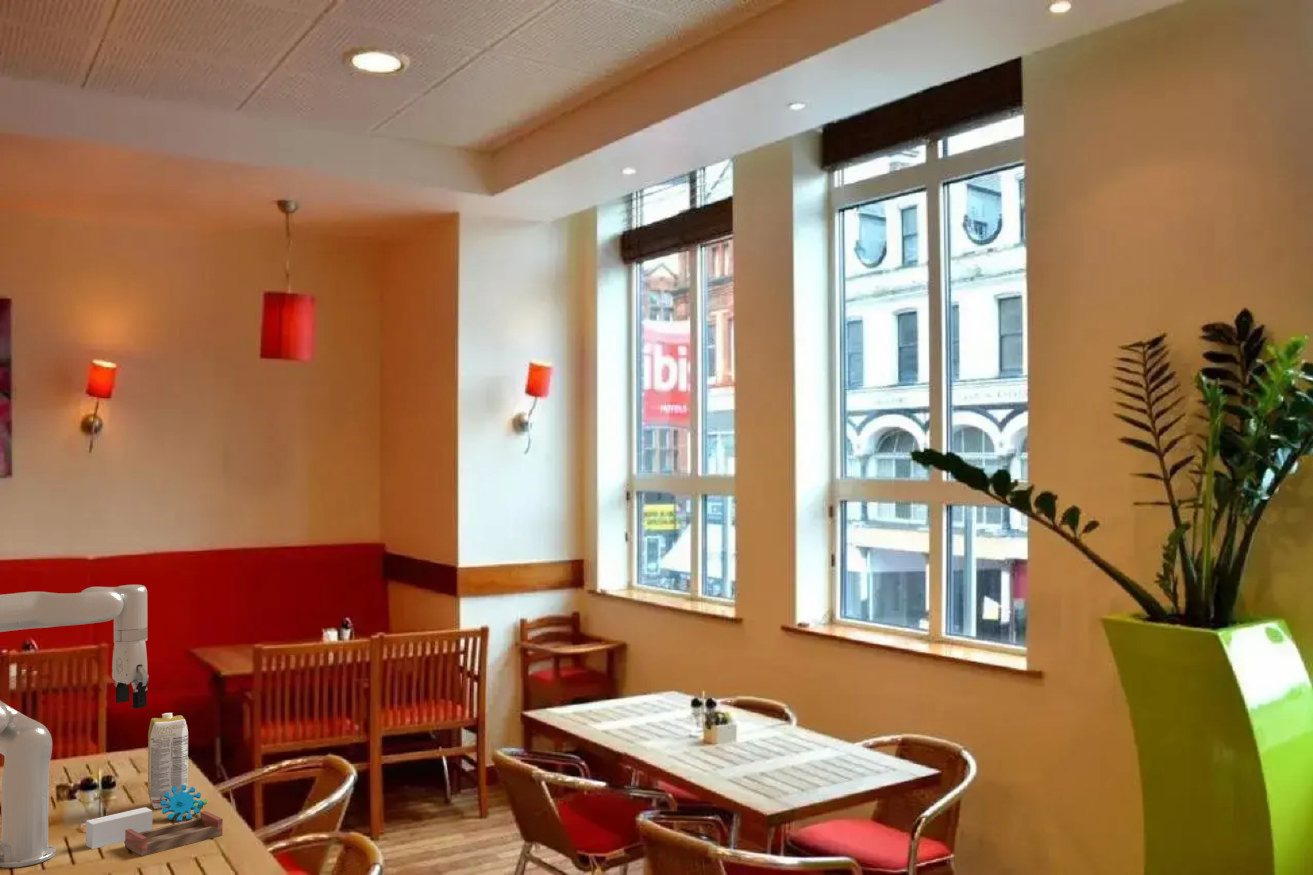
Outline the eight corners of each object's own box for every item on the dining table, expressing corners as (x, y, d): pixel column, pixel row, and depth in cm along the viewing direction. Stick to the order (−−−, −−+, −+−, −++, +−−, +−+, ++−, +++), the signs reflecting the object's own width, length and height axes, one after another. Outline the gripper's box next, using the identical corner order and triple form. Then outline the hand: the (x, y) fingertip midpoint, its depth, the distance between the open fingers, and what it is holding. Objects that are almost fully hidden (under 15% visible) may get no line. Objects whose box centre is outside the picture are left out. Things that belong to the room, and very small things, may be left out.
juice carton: (183, 797, 301) (184, 709, 302) (188, 805, 294) (189, 714, 295) (146, 803, 296) (147, 713, 297) (150, 811, 289) (151, 719, 290)
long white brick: (92, 850, 261) (92, 824, 261) (85, 846, 264) (86, 820, 264) (152, 835, 271) (152, 810, 272) (145, 831, 274) (145, 807, 274)
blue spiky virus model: (158, 818, 278) (163, 782, 285) (156, 830, 282) (161, 794, 289) (205, 819, 282) (209, 784, 289) (202, 831, 286) (206, 795, 293)
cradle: (141, 856, 256) (142, 838, 256) (125, 846, 262) (125, 829, 263) (222, 835, 270) (222, 818, 271) (204, 826, 277) (204, 810, 277)
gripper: (100, 633, 275) (100, 702, 275) (130, 641, 264) (130, 712, 264) (131, 630, 281) (131, 697, 281) (161, 637, 270) (161, 707, 269)
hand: (131, 704), depth 272 cm, fingers open, 9 cm apart
